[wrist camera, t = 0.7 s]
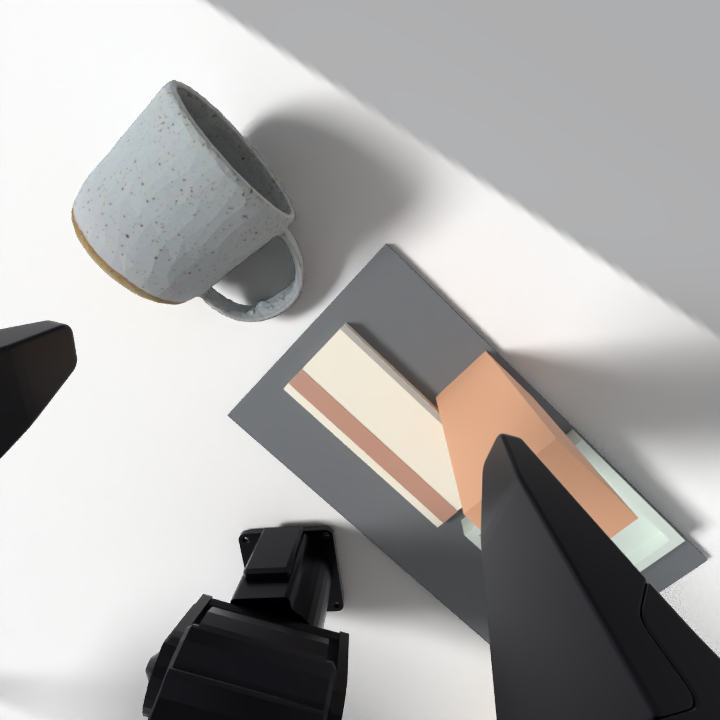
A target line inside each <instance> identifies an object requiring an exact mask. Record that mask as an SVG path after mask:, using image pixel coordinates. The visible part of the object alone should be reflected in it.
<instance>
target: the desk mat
mask: <svg viewBox="0 0 720 720" xmlns="http://www.w3.org/2000/svg"><path fill="white" fill-rule="evenodd" d="M345 323H347V324H348V325H349V326H351V327H352V328H353V329H354V330H355V331H356V332H357V333H358V334H359V335H360V336H361V337H362V338H363V339H364V340H365V341H366V342H368V343H369V344H370V345H371V346H372V347H373V348H374V349H375V350H376V351H377V352H378V353H379V354H380V355H381V356H382V357H383V358H385V359H386V360H387V361H388V362H389V363H390V364H391V365H392V366H393V367H394V368H395V369H396V370H397V371H398V372H399V373H400V374H402V375H403V376H404V377H405V378H406V379H407V380H408V381H409V382H410V383H411V384H412V385H413V386H414V387H415V388H416V389H417V390H419V391H420V392H421V393H422V394H423V395H424V396H425V397H426V398H427V399H428V400H429V401H430V402H431V403H432V404H433V405H434V406H436V407H437V408H438V405H437V401H436V396H437V395H438V394H440V393H441V392H442V391H443V390H444V389H445V388H446V387H447V386H448V385H449V384H450V383H451V382H452V381H454V380H455V379H456V378H457V377H458V376H459V375H460V374H461V373H462V372H463V371H464V370H465V369H466V368H468V367H469V366H470V365H471V364H472V363H473V362H474V361H475V360H476V359H477V358H478V357H479V356H481V355H482V354H483V353H484V352H485V351H486V352H487V353H488V354H489V355H490V356H491V357H492V358H493V359H494V360H495V361H496V362H497V363H498V364H499V365H501V366H502V367H503V368H504V369H505V370H506V371H507V372H508V373H509V374H510V375H511V376H512V377H513V378H514V379H515V380H516V381H517V382H518V383H519V384H520V385H521V386H522V387H523V388H524V389H525V390H526V391H527V392H528V393H529V394H530V395H531V396H532V397H533V398H534V399H535V400H536V401H537V403H538V404H539V405H540V406H541V407H542V408H543V409H544V411H545V412H546V413H547V414H548V415H549V416H550V417H551V419H552V420H553V421H554V422H555V423H556V424H557V425H558V427H559V428H560V429H561V430H562V431H563V432H564V433H565V435H566V434H567V433H568V432H569V431H571V430H572V429H573V430H574V431H575V432H576V433H577V434H578V435H579V436H580V437H581V438H582V439H583V440H584V441H585V442H586V443H587V444H588V445H589V446H590V447H591V448H592V449H593V450H594V451H595V452H596V453H597V454H598V455H599V456H600V457H601V458H602V459H603V460H605V461H606V462H607V463H608V464H609V465H610V466H611V467H612V468H613V469H614V470H615V471H616V472H617V473H618V474H619V475H620V476H621V477H622V478H623V479H624V480H625V481H626V482H627V483H628V484H629V485H630V486H631V487H632V488H633V489H634V490H635V491H636V492H637V493H638V494H639V495H640V496H641V497H642V498H643V499H644V500H645V501H646V502H647V503H648V504H649V505H650V506H651V507H652V508H653V509H654V510H655V511H656V512H657V513H658V514H659V515H660V516H662V517H663V518H664V519H665V520H666V521H667V522H668V523H669V524H670V525H671V526H672V527H673V528H674V529H675V531H676V532H677V533H678V534H679V535H680V536H681V537H682V538H683V539H684V540H685V541H684V542H683V543H681V544H680V545H678V546H677V547H675V548H674V549H673V550H671V551H670V552H668V553H667V554H665V555H664V556H662V557H661V558H660V559H658V560H657V561H655V562H654V563H652V564H651V565H650V566H648V567H647V568H645V569H644V570H642V571H641V572H640V573H641V574H642V575H643V576H644V577H645V578H646V583H650V584H651V585H652V586H653V587H654V588H655V589H656V590H657V591H658V593H659V592H661V591H662V590H664V589H665V588H667V587H668V586H670V585H671V584H673V583H674V582H676V581H677V580H679V579H680V578H682V577H683V576H685V575H686V574H688V573H689V572H691V571H692V570H694V569H695V568H696V567H698V566H699V565H701V564H702V563H704V562H705V561H707V559H706V558H705V557H704V556H703V555H702V554H701V553H700V552H699V551H698V550H697V549H696V548H695V547H694V546H693V545H692V544H691V543H690V542H689V541H688V540H687V539H686V538H685V537H684V536H683V535H682V534H681V533H680V532H679V531H678V530H677V529H676V528H675V527H674V526H673V525H672V524H671V523H670V522H669V521H668V520H667V519H666V518H665V517H664V516H663V515H662V514H661V513H660V512H659V511H658V510H657V509H656V508H655V507H653V506H652V505H651V504H650V503H649V502H648V501H647V500H646V499H645V498H644V497H643V496H642V495H641V494H640V493H639V492H638V491H637V490H636V489H635V488H634V487H633V486H632V485H631V484H630V483H629V482H628V481H627V480H626V479H625V478H624V477H623V476H622V475H621V474H620V473H619V472H618V471H617V470H616V469H615V468H614V467H613V466H612V465H611V464H610V463H609V462H608V461H607V460H606V459H605V458H604V457H603V456H602V455H601V454H600V453H599V452H598V451H597V450H596V449H595V448H593V447H592V446H591V445H590V444H589V443H588V442H587V441H586V440H585V439H584V438H583V437H582V436H581V435H580V434H579V433H578V432H577V431H576V430H575V429H574V428H573V427H572V426H571V425H570V424H569V423H568V422H567V421H566V420H565V419H564V418H563V417H562V416H561V415H560V414H559V413H558V412H557V411H556V410H555V409H554V408H553V407H552V406H551V405H550V404H549V403H548V402H547V401H546V400H545V399H544V398H543V397H542V396H541V395H540V394H539V393H538V392H537V391H536V390H535V389H533V388H532V387H531V386H530V385H529V384H528V383H527V382H526V381H525V380H524V379H523V378H522V377H521V376H520V375H519V374H518V373H517V372H516V371H515V370H514V369H513V368H512V367H511V366H510V365H509V364H508V363H507V362H506V361H505V360H504V359H503V358H502V357H501V356H500V355H499V354H498V353H497V352H496V351H495V350H494V349H493V348H492V347H491V346H490V345H489V344H488V343H487V342H486V341H485V340H484V339H483V338H482V337H481V336H480V335H479V334H478V333H477V332H476V331H475V330H473V329H472V328H471V327H470V326H469V325H468V324H467V323H466V322H465V321H464V320H463V319H462V318H461V317H460V316H459V315H458V314H457V313H456V312H455V311H454V310H453V309H452V308H451V307H450V306H449V305H448V304H447V303H446V302H445V301H444V300H443V299H442V298H441V297H440V296H439V295H438V294H437V293H436V292H435V291H434V290H433V289H432V288H431V287H430V286H429V285H428V284H427V283H426V282H425V281H424V280H423V279H422V278H421V277H420V276H419V275H418V274H417V273H416V272H415V271H413V270H412V269H411V268H410V267H409V266H408V265H407V264H406V263H405V262H404V261H403V260H402V259H401V258H400V257H399V256H398V255H397V254H396V253H395V252H394V251H393V250H392V249H391V248H390V247H389V246H388V245H387V244H385V246H384V247H383V248H382V249H381V250H380V251H379V252H378V253H377V254H376V255H375V256H374V257H373V258H372V260H371V261H370V262H369V263H368V264H367V265H366V266H365V267H364V268H363V269H362V270H361V271H360V273H359V274H358V275H357V276H356V277H355V278H354V279H353V280H352V281H351V282H350V283H349V284H348V286H347V287H346V288H345V289H344V290H343V291H342V292H341V293H340V294H339V295H338V296H337V297H336V299H335V300H334V301H333V302H332V303H331V304H330V305H329V306H328V307H327V308H326V309H325V310H324V311H323V313H322V314H321V315H320V316H319V317H318V318H317V319H316V320H315V321H314V322H313V323H312V324H311V326H310V327H309V328H308V329H307V330H306V331H305V332H304V333H303V334H302V335H301V336H300V337H299V339H298V340H297V341H296V342H295V343H294V344H293V345H292V346H291V347H290V348H289V349H288V350H287V352H286V353H285V354H284V355H283V356H282V357H281V358H280V359H279V360H278V361H277V362H276V363H275V364H274V366H273V367H272V368H271V369H270V370H269V371H268V372H267V373H266V374H265V375H264V376H263V377H262V379H261V380H260V381H259V382H258V383H257V384H256V385H255V386H254V387H253V388H252V389H251V390H250V392H249V393H248V394H247V395H246V396H245V397H244V398H243V399H242V400H241V401H240V402H239V403H238V404H237V406H236V407H235V408H234V409H233V410H232V411H231V412H230V413H229V414H228V416H229V417H230V418H231V419H232V420H233V421H234V422H236V423H237V424H238V425H239V426H240V427H241V428H242V429H244V430H245V431H246V432H247V433H248V434H249V435H250V436H252V437H253V438H254V439H255V440H256V441H257V442H258V443H260V444H261V445H262V446H263V447H264V448H265V449H266V450H268V451H269V452H270V453H271V454H272V455H273V456H274V457H276V458H277V459H278V460H279V461H280V462H281V463H283V464H284V465H285V466H286V467H287V468H288V469H289V470H291V471H292V472H293V473H294V474H295V475H296V476H297V477H299V478H300V479H301V480H302V481H303V482H304V483H305V484H307V485H308V486H309V487H310V488H311V489H312V490H313V491H315V492H316V493H317V494H318V495H319V496H320V497H321V498H323V499H324V500H325V501H326V502H327V503H328V504H330V505H331V506H332V507H333V508H334V509H335V510H336V511H338V512H339V513H340V514H341V515H342V516H343V517H344V518H346V519H347V520H348V521H349V522H350V523H351V524H352V525H354V526H355V527H356V528H357V529H358V530H359V531H360V532H362V533H363V534H364V535H365V536H366V537H367V538H368V539H370V540H371V541H372V542H373V543H374V544H375V545H377V546H378V547H379V548H380V549H381V550H382V551H383V552H385V553H386V554H387V555H388V556H389V557H390V558H391V559H393V560H394V561H395V562H396V563H397V564H398V565H399V566H401V567H402V568H403V569H404V570H405V571H406V572H407V573H409V574H410V575H411V576H412V577H413V578H414V579H415V580H417V581H418V582H419V583H420V584H421V585H422V586H423V587H425V588H426V589H427V590H428V591H429V592H430V593H432V594H433V595H434V596H435V597H436V598H437V599H438V600H440V601H441V602H442V603H443V604H444V605H445V606H446V607H448V608H449V609H450V610H451V611H452V612H453V613H454V614H456V615H457V616H458V617H459V618H460V619H461V620H462V621H464V622H465V623H466V624H467V625H468V626H469V627H470V628H472V629H473V630H474V631H475V632H476V633H477V634H479V635H480V636H481V637H482V638H483V639H484V640H485V641H487V642H488V643H489V644H490V640H489V629H488V618H487V607H486V596H485V585H484V574H483V563H482V552H481V550H480V549H479V548H478V547H477V546H476V545H475V544H474V543H472V542H471V541H470V540H469V539H468V538H467V537H466V536H465V535H464V532H463V527H462V523H461V520H462V519H463V518H465V517H466V516H465V515H464V513H463V509H462V508H461V509H459V510H458V512H456V513H455V514H454V515H453V516H452V517H450V518H449V519H448V520H447V521H445V522H444V523H443V524H441V525H440V526H439V527H438V528H437V527H436V526H435V525H434V524H433V523H432V522H431V521H430V520H429V519H427V518H426V517H425V516H424V515H423V514H422V513H421V512H420V511H419V510H417V509H416V508H415V507H414V506H413V505H412V504H411V503H410V502H409V501H407V500H406V499H405V498H404V497H403V496H402V495H401V494H400V493H399V492H397V491H396V490H395V489H394V488H393V487H392V486H391V485H390V484H388V483H387V482H386V481H385V480H384V479H383V478H382V477H381V476H380V475H378V474H377V473H376V472H375V471H374V470H373V469H372V468H371V467H370V466H368V465H367V464H366V463H365V462H364V461H363V460H362V459H361V458H360V457H358V456H357V455H356V454H355V453H354V452H353V451H352V450H351V449H350V448H348V447H347V446H346V445H345V444H344V443H343V442H342V441H341V440H340V439H338V438H337V437H336V436H335V435H334V434H333V433H332V432H331V431H330V430H328V429H327V428H326V427H325V426H324V425H323V424H322V423H321V422H319V421H318V420H317V419H316V418H315V417H314V416H313V415H312V414H311V413H309V412H308V411H307V410H306V409H305V408H304V407H303V406H302V405H301V404H299V403H298V402H297V401H296V400H295V399H294V398H293V397H292V396H291V395H289V394H288V393H287V392H286V391H285V390H284V388H285V386H286V385H287V384H288V383H289V382H290V381H291V380H292V379H293V378H294V377H295V376H296V375H297V373H298V372H299V371H300V370H301V369H302V368H303V367H304V366H305V365H306V364H307V363H308V362H309V361H310V360H311V359H312V358H313V357H314V356H315V355H316V353H317V352H318V351H319V350H320V349H321V348H322V347H323V346H324V345H325V344H326V343H327V342H328V341H329V340H330V339H331V338H332V337H333V336H334V335H335V333H336V332H337V331H338V330H339V329H340V328H341V327H342V326H343V325H344V324H345Z"/></svg>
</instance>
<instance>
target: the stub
mask: <svg viewBox="0 0 720 720" xmlns="http://www.w3.org/2000/svg"><path fill="white" fill-rule="evenodd" d="M436 401H437V405H438V410H439V414H440V418H441V422H442V426H443V430H444V434H445V439H446V443H447V447H448V451H449V455H450V459H451V464H452V468H453V472H454V476H455V480H456V484H457V488H458V493H459V497H460V501H461V505H462V509H463V513H464V515H465V516H466V517H467V518H468V519H469V520H470V521H471V522H473V523H474V524H475V525H476V526H477V527H478V528H479V529H480V530H481V504H482V472H483V466H484V462H485V460H486V458H487V456H488V454H489V452H490V450H491V448H492V446H493V443H494V441H495V439H496V438H497V436H498V435H499V434H501V433H504V434H508V435H513V436H517V437H519V438H521V439H522V440H523V441H524V442H525V443H526V444H527V445H528V447H529V448H530V449H531V450H532V451H533V452H534V453H535V454H536V456H537V457H538V458H539V459H540V460H541V461H542V462H543V463H544V465H545V466H546V467H547V468H548V469H549V470H550V471H551V472H552V474H553V475H554V476H555V477H556V478H557V479H558V480H559V481H560V483H561V484H562V485H563V486H564V487H565V488H566V489H567V490H568V492H569V493H570V494H571V495H572V496H573V497H574V498H575V499H576V501H577V502H578V503H579V504H580V505H581V506H582V507H583V508H584V510H585V511H586V512H587V513H588V514H589V515H590V516H591V517H592V519H593V520H594V521H595V522H596V523H597V524H598V525H599V526H600V528H601V529H602V530H603V531H604V532H605V533H606V534H607V535H608V537H609V538H612V537H613V536H615V535H616V534H617V533H619V532H620V531H621V530H623V529H624V528H626V527H627V526H628V525H630V524H631V523H632V522H634V521H635V520H637V519H638V517H637V516H636V515H635V514H634V512H633V511H632V510H631V509H630V508H629V507H628V506H627V504H626V503H625V502H624V501H623V500H622V499H621V498H620V496H619V495H618V494H617V493H616V492H615V491H614V490H613V488H612V487H611V486H610V485H609V484H608V483H607V482H606V480H605V479H604V478H603V477H602V476H601V475H600V474H599V472H598V471H597V470H596V469H595V468H594V467H593V466H592V464H591V463H590V462H589V461H588V460H587V459H586V458H585V456H584V455H583V454H582V453H581V452H580V451H579V449H578V448H577V447H576V446H575V445H574V444H573V443H572V441H571V440H570V439H569V438H568V437H567V436H566V435H565V433H564V432H563V431H562V430H561V429H560V428H559V427H558V425H557V424H556V423H555V422H554V421H553V420H552V419H551V417H550V416H549V415H548V414H547V413H546V412H545V411H544V409H543V408H542V407H541V406H540V405H539V404H538V403H537V401H536V400H535V399H534V398H533V397H532V396H531V395H530V394H529V393H528V392H527V391H526V390H525V389H524V388H523V387H522V386H521V385H520V384H519V383H518V382H517V381H516V380H515V379H514V378H513V377H512V376H511V375H510V374H509V373H508V372H507V371H506V370H505V369H504V368H503V367H502V366H501V365H499V364H498V363H497V362H496V361H495V360H494V359H493V358H492V357H491V356H490V355H489V354H488V353H487V352H486V351H485V352H484V353H483V354H482V355H481V356H479V357H478V358H477V359H476V360H475V361H474V362H473V363H472V364H471V365H470V366H469V367H468V368H466V369H465V370H464V371H463V372H462V373H461V374H460V375H459V376H458V377H457V378H456V379H455V380H454V381H452V382H451V383H450V384H449V385H448V386H447V387H446V388H445V389H444V390H443V391H442V392H441V393H440V394H438V395H437V396H436Z"/></svg>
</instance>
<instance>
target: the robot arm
mask: <svg viewBox="0 0 720 720" xmlns="http://www.w3.org/2000/svg"><path fill="white" fill-rule="evenodd" d="M76 363H77V355H76V349H75V343H74V337H73V332H72V329H71V328H70V327H69V326H68V325H66V324H62V323H58V322H54V321H41V322H36V323H31V324H25V325H20V326H15V327H10V328H5V329H0V459H1V457H2V456H3V455H4V454H5V453H6V452H7V451H8V450H9V449H10V448H11V447H12V446H13V445H14V444H15V443H16V442H17V441H18V439H19V438H20V437H21V436H22V435H23V434H24V433H25V432H26V431H27V430H28V429H29V427H30V426H31V425H32V424H33V423H34V421H35V420H36V419H37V418H38V416H39V415H40V414H41V412H42V411H43V410H44V409H45V407H46V406H47V405H48V403H49V402H50V401H51V399H52V398H53V397H54V395H55V394H56V393H57V392H58V390H59V389H60V388H61V386H62V385H63V384H64V382H65V381H66V380H67V378H68V377H69V376H70V375H71V373H72V372H73V370H74V369H75V367H76ZM323 533H328V534H329V535H328V536H325V535H324V534H323ZM245 537H247V538H249V540H247V539H245ZM239 544H240V549H241V553H242V558H243V563H244V567H245V569H244V574H243V576H242V578H241V580H240V582H239V584H238V587H237V589H236V591H235V593H234V595H233V597H232V599H231V603H227V602H223V601H220V600H216V599H212V596H209V595H205V594H203V595H202V596H201V598H200V599H199V600H198V601H197V603H196V604H194V605H193V606H192V607H191V608H190V610H189V611H188V612H187V613H186V615H185V616H184V617H183V618H182V620H181V621H180V622H179V623H178V625H177V626H176V627H175V629H174V630H173V631H172V632H171V634H170V635H169V636H168V637H167V639H166V640H165V641H164V643H163V645H162V647H161V650H160V652H158V653H157V654H156V655H154V656H153V657H152V658H151V659H150V661H149V663H148V665H147V668H146V674H147V678H148V681H149V683H148V687H147V692H146V695H145V699H144V704H143V716H146V717H149V718H148V720H341V719H342V714H343V708H344V702H345V696H346V688H347V675H348V647H349V634H348V633H345V632H341V631H340V633H337V632H333V631H330V630H326V629H323V627H324V622H325V617H326V612H327V611H340V610H342V609H343V606H344V595H343V589H342V582H341V576H340V569H339V562H338V556H337V549H336V543H335V536H334V531H333V529H332V528H331V527H329V526H316V527H282V528H265V529H260V530H245V531H243V532H242V533H241V535H240V537H239ZM481 552H482V563H483V574H484V585H485V596H486V607H487V618H488V629H489V640H490V651H491V662H492V672H493V683H494V694H495V705H496V716H497V720H720V658H719V657H718V656H717V655H716V654H715V653H714V652H713V651H712V650H711V649H710V648H709V647H708V646H707V645H706V644H705V642H704V641H703V640H702V639H701V638H700V637H699V636H698V635H697V634H696V633H695V632H694V631H693V630H692V629H691V628H690V627H689V626H688V624H687V623H686V622H685V621H684V620H683V619H682V618H681V617H680V616H679V615H678V614H677V613H676V611H675V610H674V609H673V608H672V607H671V606H670V605H669V604H668V603H667V602H666V600H665V599H664V598H663V597H662V596H661V595H660V594H659V593H658V591H657V590H656V589H655V588H654V587H653V586H652V585H651V584H650V583H646V578H645V577H644V576H643V575H642V574H641V573H640V571H639V570H638V569H637V568H636V567H635V566H634V565H633V564H632V562H631V561H630V560H629V559H628V558H627V557H626V556H625V555H624V553H623V552H622V551H621V550H620V549H619V548H618V547H617V546H616V544H615V543H614V542H613V541H612V540H611V539H610V538H609V537H608V535H607V534H606V533H605V532H604V531H603V530H602V529H601V528H600V526H599V525H598V524H597V523H596V522H595V521H594V520H593V519H592V517H591V516H590V515H589V514H588V513H587V512H586V511H585V510H584V508H583V507H582V506H581V505H580V504H579V503H578V502H577V501H576V499H575V498H574V497H573V496H572V495H571V494H570V493H569V492H568V490H567V489H566V488H565V487H564V486H563V485H562V484H561V483H560V481H559V480H558V479H557V478H556V477H555V476H554V475H553V474H552V472H551V471H550V470H549V469H548V468H547V467H546V466H545V465H544V463H543V462H542V461H541V460H540V459H539V458H538V457H537V456H536V454H535V453H534V452H533V451H532V450H531V449H530V448H529V447H528V445H527V444H526V443H525V442H524V441H523V440H522V439H521V438H519V437H517V436H513V435H508V434H504V433H501V434H499V435H498V436H497V438H496V439H495V441H494V443H493V446H492V448H491V450H490V452H489V454H488V456H487V458H486V460H485V462H484V466H483V472H482V504H481ZM335 602H338V604H337V603H335Z"/></svg>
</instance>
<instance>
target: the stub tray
mask: <svg viewBox="0 0 720 720" xmlns="http://www.w3.org/2000/svg"><path fill="white" fill-rule="evenodd" d="M566 436H567V437H568V438H569V439H570V440H571V441H572V443H573V444H574V445H575V446H576V447H577V448H578V449H579V451H580V452H581V453H582V454H583V455H584V456H585V458H586V459H587V460H588V461H589V462H590V463H591V464H592V466H593V467H594V468H595V469H596V470H597V471H598V472H599V474H600V475H601V476H602V477H603V478H604V479H605V480H606V482H607V483H608V484H609V485H610V486H611V487H612V488H613V490H614V491H615V492H616V493H617V494H618V495H619V496H620V498H621V499H622V500H623V501H624V502H625V503H626V504H627V506H628V507H629V508H630V509H631V510H632V511H633V512H634V514H635V515H636V516H637V517H638V519H637V520H635V521H634V522H632V523H631V524H630V525H628V526H627V527H626V528H624V529H623V530H621V531H620V532H619V533H617V534H616V535H615V536H613V537H612V538H610V539H611V540H612V541H613V542H614V543H615V544H616V546H617V547H618V548H619V549H620V550H621V551H622V552H623V553H624V555H625V556H626V557H627V558H628V559H629V560H630V561H631V562H632V564H633V565H634V566H635V567H636V568H637V569H638V570H639V571H640V572H641V571H642V570H644V569H645V568H647V567H648V566H650V565H651V564H652V563H654V562H655V561H657V560H658V559H660V558H661V557H662V556H664V555H665V554H667V553H668V552H670V551H671V550H673V549H674V548H675V547H677V546H678V545H680V544H681V543H683V542H684V541H685V540H684V539H683V538H682V537H681V536H680V535H679V534H678V533H677V532H676V531H675V529H674V528H673V527H672V526H671V525H670V524H669V523H668V522H667V521H666V520H665V519H664V518H663V517H662V516H660V515H659V514H658V513H657V512H656V511H655V510H654V509H653V508H652V507H651V506H650V505H649V504H648V503H647V502H646V501H645V500H644V499H643V498H642V497H641V496H640V495H639V494H638V493H637V492H636V491H635V490H634V489H633V488H632V487H631V486H630V485H629V484H628V483H627V482H626V481H625V480H624V479H623V478H622V477H621V476H620V475H619V474H618V473H617V472H616V471H615V470H614V469H613V468H612V467H611V466H610V465H609V464H608V463H607V462H606V461H605V460H603V459H602V458H601V457H600V456H599V455H598V454H597V453H596V452H595V451H594V450H593V449H592V448H591V447H590V446H589V445H588V444H587V443H586V442H585V441H584V440H583V439H582V438H581V437H580V436H579V435H578V434H577V433H576V432H575V431H574V430H573V429H572V430H571V431H569V432H568V433H567V434H566ZM461 523H462V527H463V532H464V535H465V536H466V537H467V538H468V539H469V540H470V541H471V542H472V543H474V544H475V545H476V546H477V547H478V548H479V549H480V550H481V530H480V529H479V528H478V527H477V526H476V525H475V524H474V523H473V522H471V521H470V520H469V519H468V518H467V517H465V518H463V519H462V520H461Z"/></svg>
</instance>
